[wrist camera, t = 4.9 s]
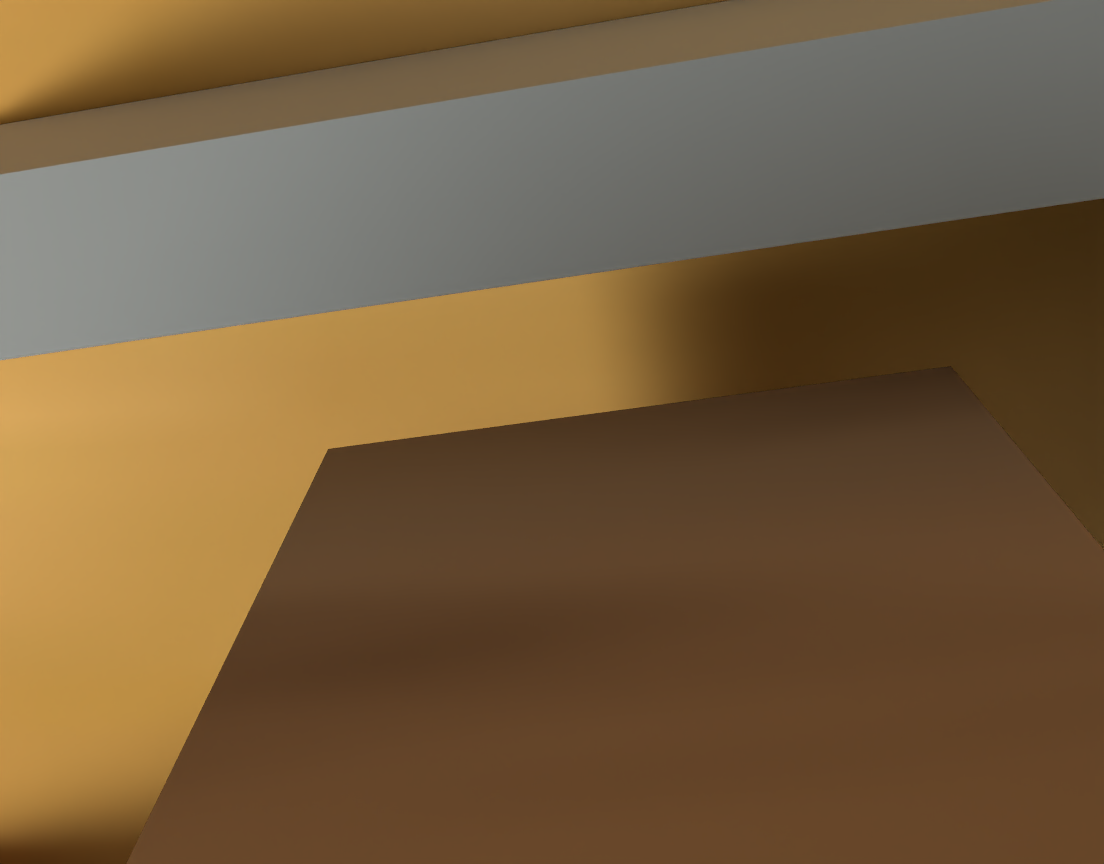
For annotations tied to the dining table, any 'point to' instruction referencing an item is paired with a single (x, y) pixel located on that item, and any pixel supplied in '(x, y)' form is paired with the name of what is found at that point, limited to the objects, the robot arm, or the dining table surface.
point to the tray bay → (542, 161)
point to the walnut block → (666, 648)
